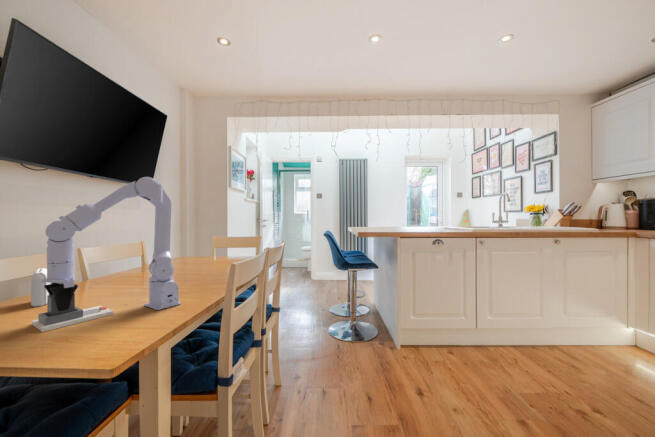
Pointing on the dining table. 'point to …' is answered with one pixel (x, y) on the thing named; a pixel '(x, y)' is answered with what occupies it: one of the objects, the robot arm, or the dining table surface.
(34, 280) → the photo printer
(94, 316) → the white flat rectangular base
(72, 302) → the gray block
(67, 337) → the dining table surface
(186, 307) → the dining table surface
